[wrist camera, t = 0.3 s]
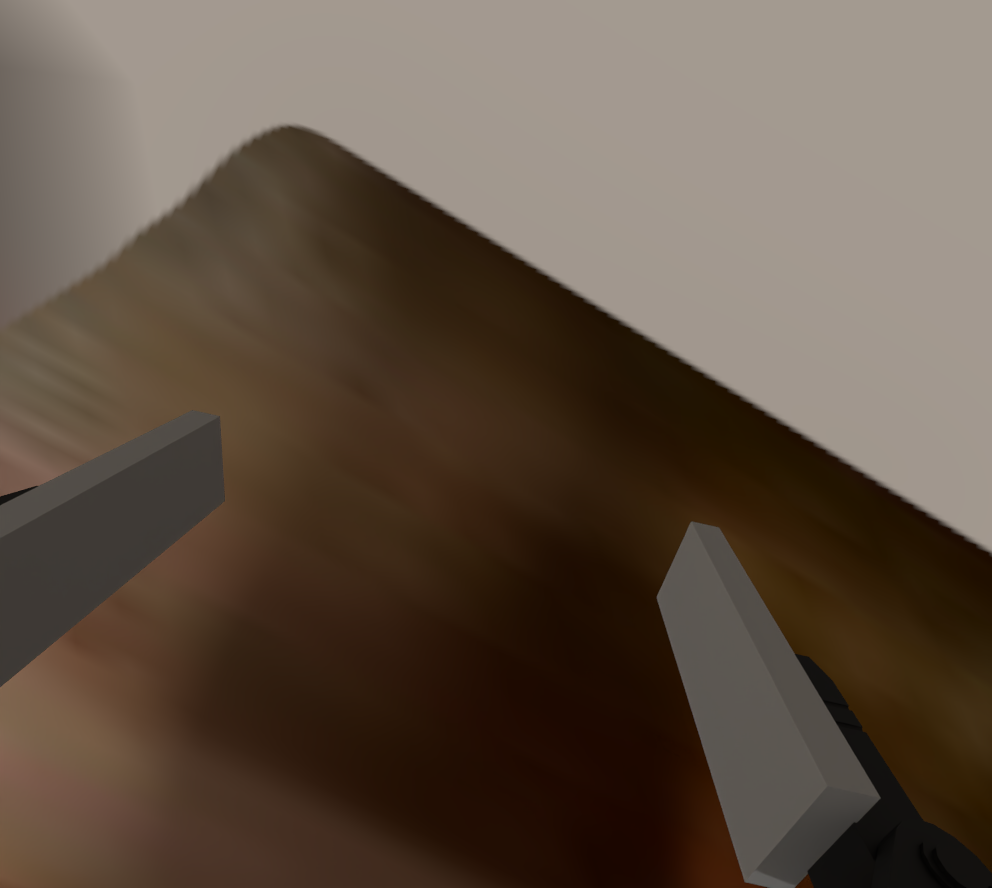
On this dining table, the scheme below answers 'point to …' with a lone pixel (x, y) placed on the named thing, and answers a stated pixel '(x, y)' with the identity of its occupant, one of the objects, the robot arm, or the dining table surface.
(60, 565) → the robot arm
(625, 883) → the dining table surface
